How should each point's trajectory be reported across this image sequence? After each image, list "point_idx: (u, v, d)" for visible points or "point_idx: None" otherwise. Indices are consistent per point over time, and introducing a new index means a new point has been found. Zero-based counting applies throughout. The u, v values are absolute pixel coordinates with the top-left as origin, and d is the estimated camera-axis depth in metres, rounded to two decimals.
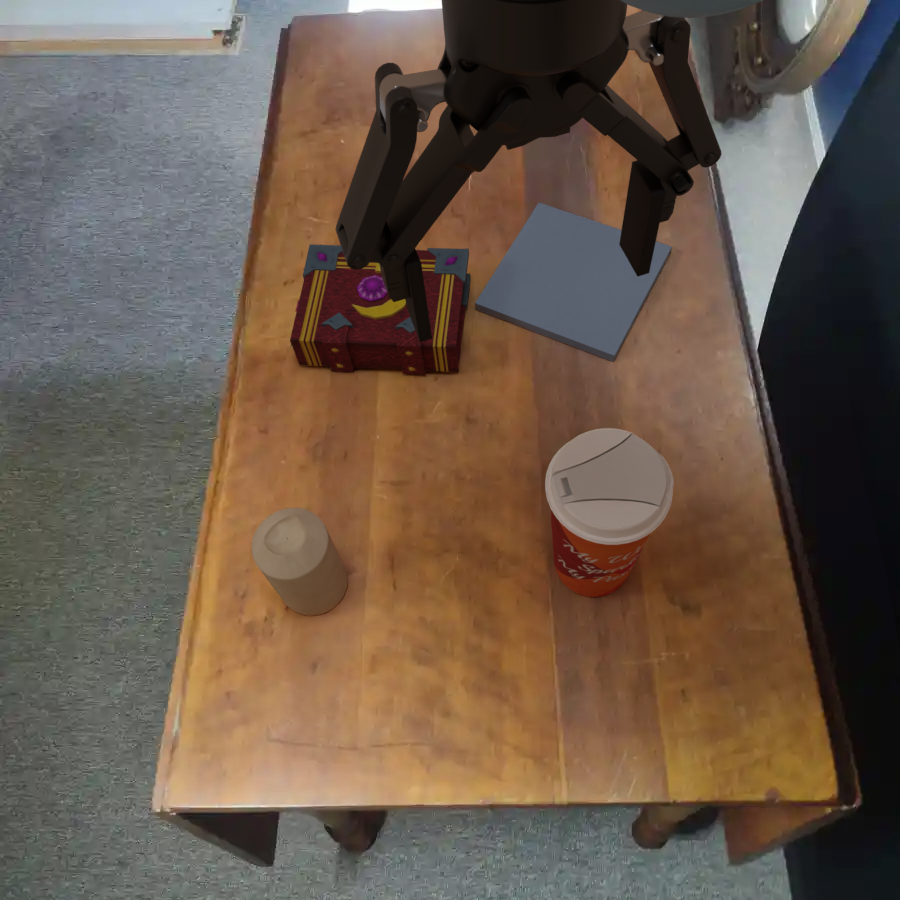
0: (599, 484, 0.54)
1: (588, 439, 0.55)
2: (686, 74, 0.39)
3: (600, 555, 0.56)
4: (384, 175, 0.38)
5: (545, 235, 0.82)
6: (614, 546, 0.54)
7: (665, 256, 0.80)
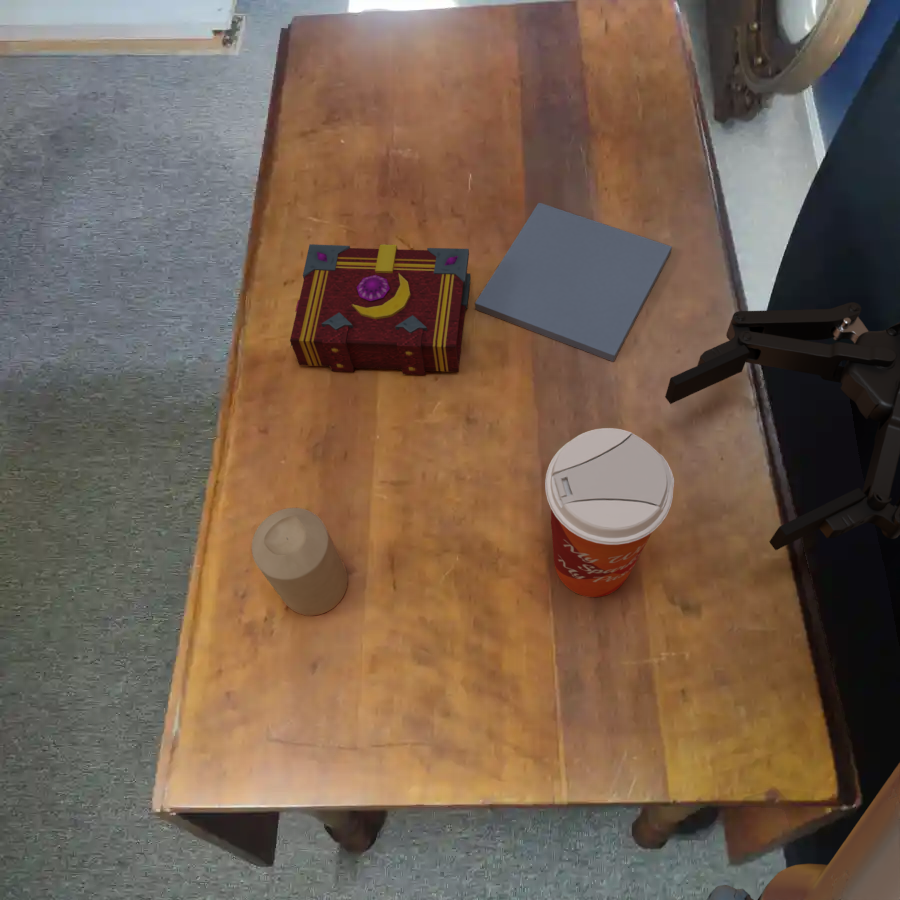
0: (600, 484, 0.54)
1: (589, 439, 0.55)
2: None
3: (600, 555, 0.56)
4: (809, 311, 0.66)
5: (545, 235, 0.82)
6: (614, 546, 0.54)
7: (665, 256, 0.80)
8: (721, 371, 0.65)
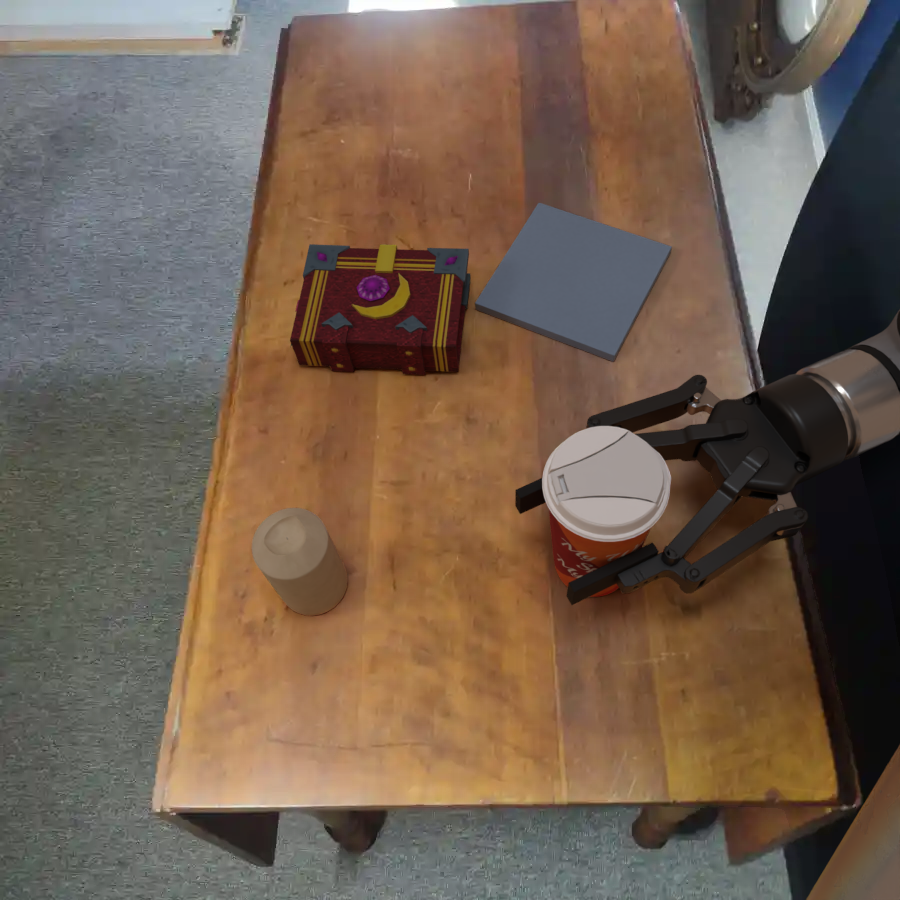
0: (596, 481, 0.54)
1: (585, 437, 0.55)
2: (770, 529, 0.58)
3: (598, 553, 0.56)
4: (659, 397, 0.63)
5: (545, 235, 0.82)
6: (611, 543, 0.54)
7: (665, 256, 0.80)
8: None
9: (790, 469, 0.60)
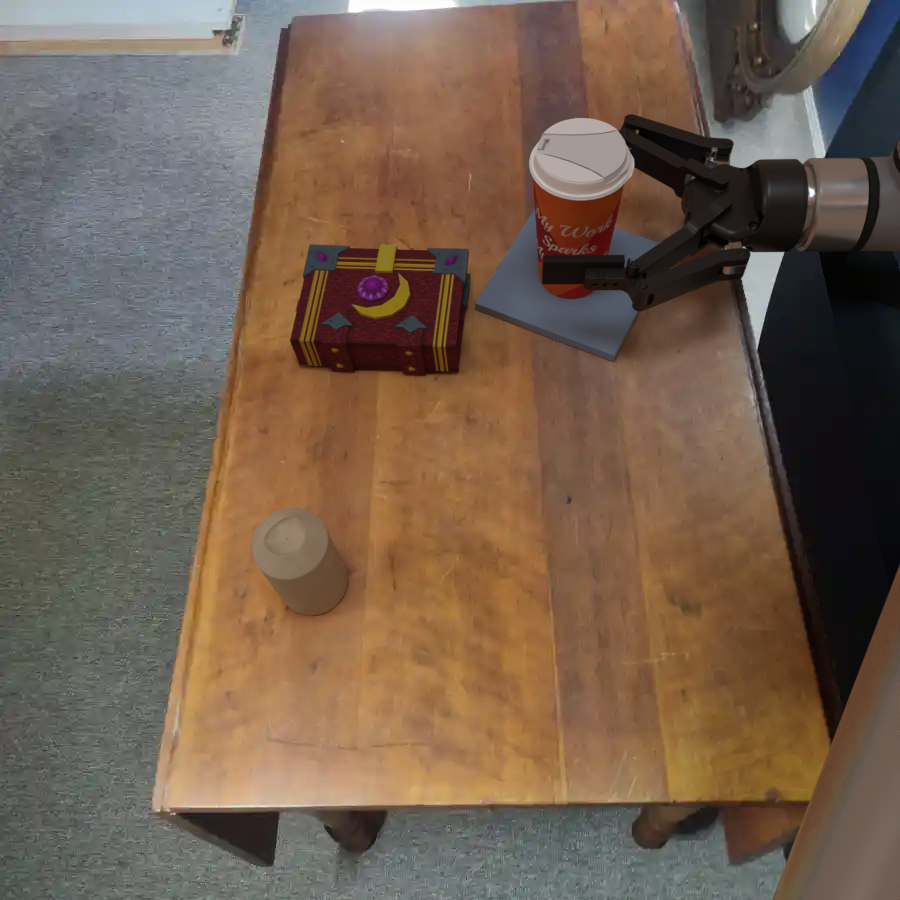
0: (570, 151, 0.67)
1: (582, 122, 0.68)
2: (715, 261, 0.67)
3: (554, 219, 0.69)
4: (688, 133, 0.74)
5: None
6: (562, 206, 0.68)
7: None
8: None
9: (744, 224, 0.69)
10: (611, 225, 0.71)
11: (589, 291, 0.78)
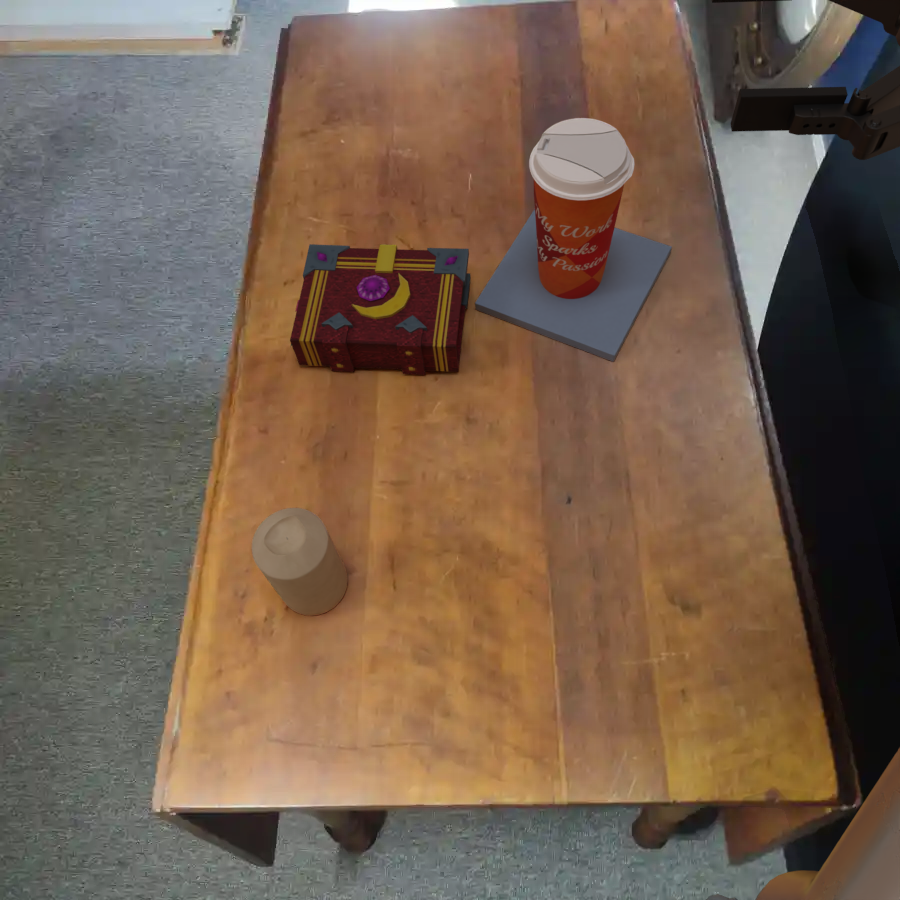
0: (570, 151, 0.67)
1: (582, 122, 0.68)
2: None
3: (554, 219, 0.69)
4: None
5: None
6: (562, 206, 0.68)
7: (665, 256, 0.80)
8: None
9: None
10: (611, 225, 0.71)
11: (589, 291, 0.78)
